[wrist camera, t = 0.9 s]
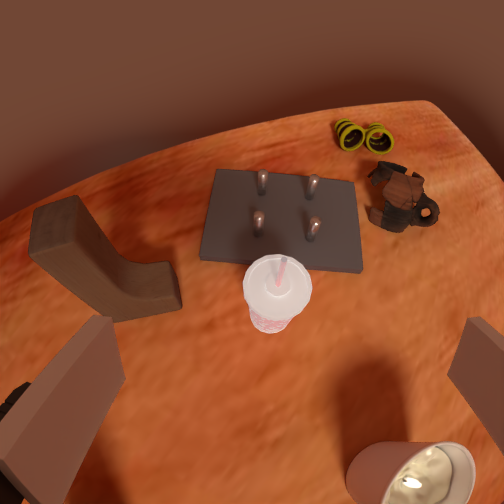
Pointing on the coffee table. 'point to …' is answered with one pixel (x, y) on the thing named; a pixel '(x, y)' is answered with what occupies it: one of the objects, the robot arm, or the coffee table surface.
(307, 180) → the cup stand
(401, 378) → the coffee table surface
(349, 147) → the opera glasses
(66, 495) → the robot arm
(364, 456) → the candle holder
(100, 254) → the wooden block
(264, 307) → the beverage cup
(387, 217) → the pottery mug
